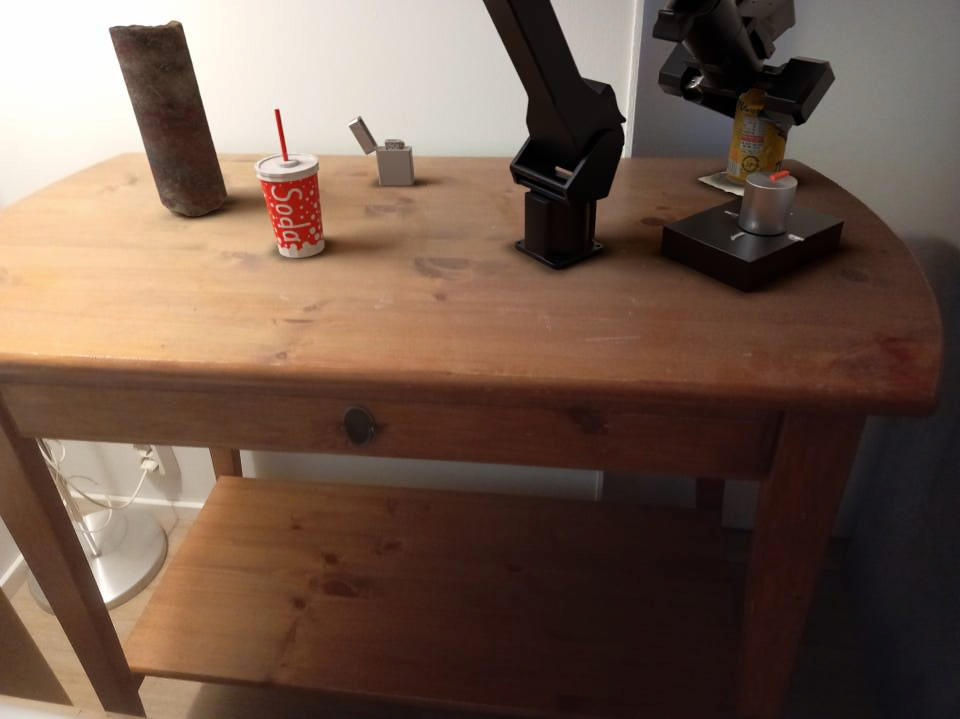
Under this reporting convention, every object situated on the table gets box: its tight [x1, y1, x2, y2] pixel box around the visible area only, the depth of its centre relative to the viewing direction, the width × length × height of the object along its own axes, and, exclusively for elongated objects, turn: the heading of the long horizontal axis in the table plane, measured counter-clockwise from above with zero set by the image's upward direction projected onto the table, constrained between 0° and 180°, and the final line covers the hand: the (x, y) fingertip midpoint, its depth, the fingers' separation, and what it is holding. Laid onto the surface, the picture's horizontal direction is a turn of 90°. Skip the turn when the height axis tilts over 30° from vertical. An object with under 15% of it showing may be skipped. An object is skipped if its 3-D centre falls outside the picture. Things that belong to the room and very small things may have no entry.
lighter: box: [347, 115, 416, 186], centre depth 89 cm, size 7×2×8 cm, turn 85°
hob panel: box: [659, 196, 845, 293], centre depth 71 cm, size 14×10×3 cm
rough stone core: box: [108, 19, 228, 217], centre depth 81 cm, size 8×7×20 cm
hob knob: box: [739, 170, 798, 235], centre depth 68 cm, size 4×4×5 cm
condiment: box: [698, 88, 789, 197], centre depth 84 cm, size 7×8×12 cm
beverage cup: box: [254, 108, 326, 259], centre depth 72 cm, size 6×6×14 cm
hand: (764, 123), depth 84 cm, fingers closed on condiment, 6 cm apart
